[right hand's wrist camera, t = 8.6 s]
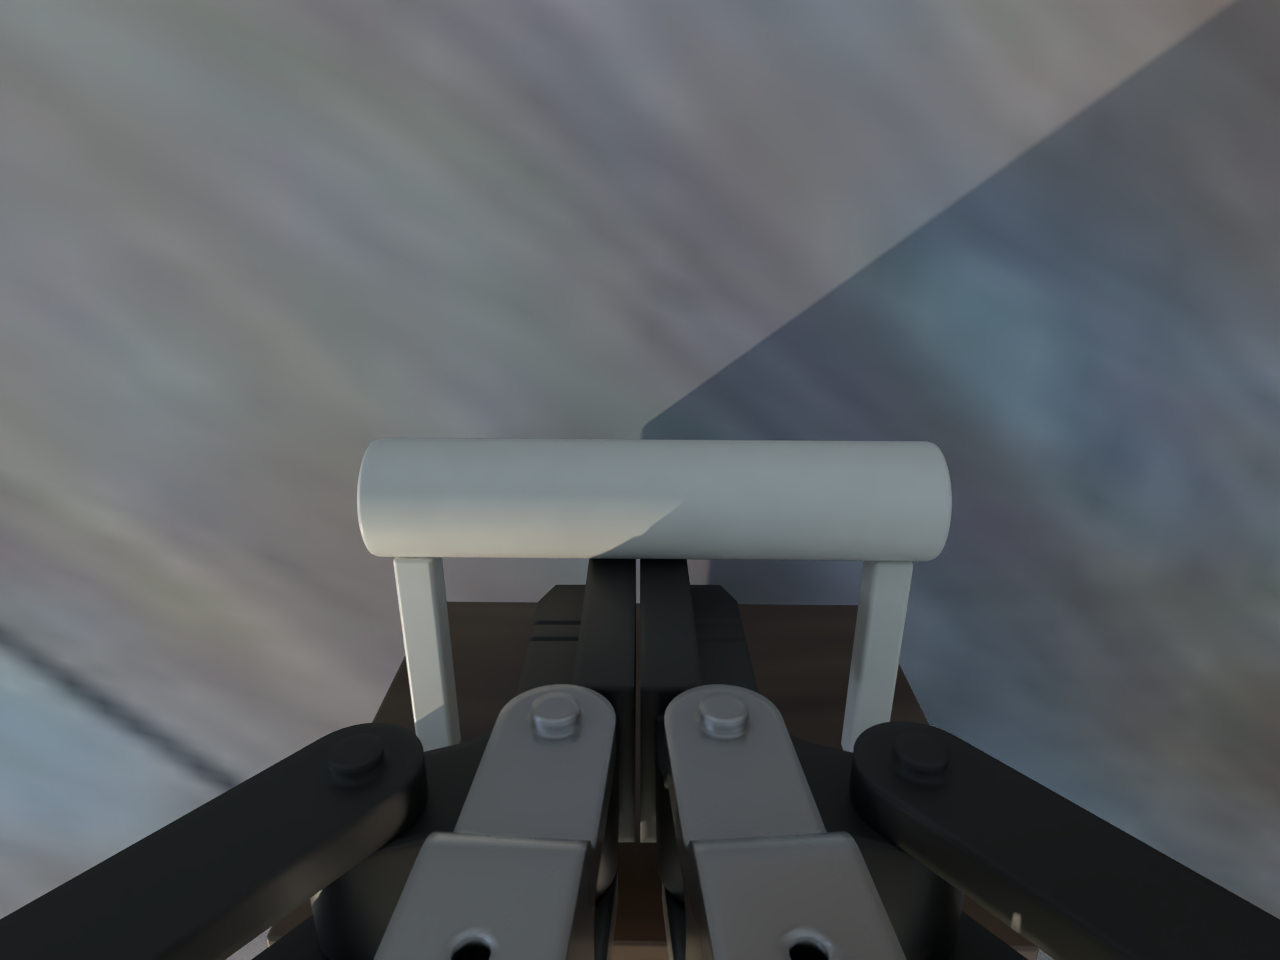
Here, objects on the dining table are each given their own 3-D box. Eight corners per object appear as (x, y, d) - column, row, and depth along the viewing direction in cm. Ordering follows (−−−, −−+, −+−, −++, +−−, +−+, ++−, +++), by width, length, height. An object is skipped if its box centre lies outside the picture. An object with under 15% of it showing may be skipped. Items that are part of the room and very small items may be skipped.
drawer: (404, 359, 16) (166, 553, 8) (903, 361, 16) (1149, 560, 8) (480, 1037, 24) (397, 1467, 16) (813, 1042, 24) (894, 1478, 16)
